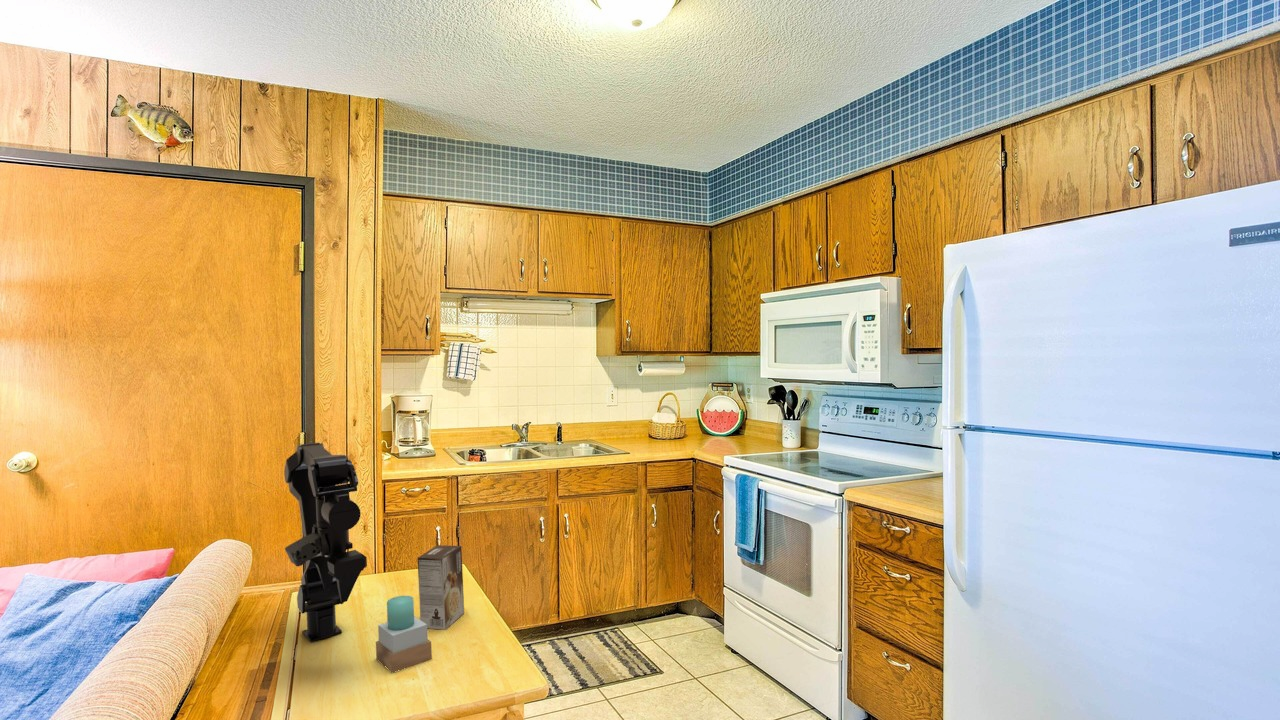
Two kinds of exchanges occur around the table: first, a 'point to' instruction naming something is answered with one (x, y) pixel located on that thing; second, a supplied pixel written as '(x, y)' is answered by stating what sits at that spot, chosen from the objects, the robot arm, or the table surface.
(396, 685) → the table surface
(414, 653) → the tower base
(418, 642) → the tower top
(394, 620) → the teal cylinder
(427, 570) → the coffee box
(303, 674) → the table surface
